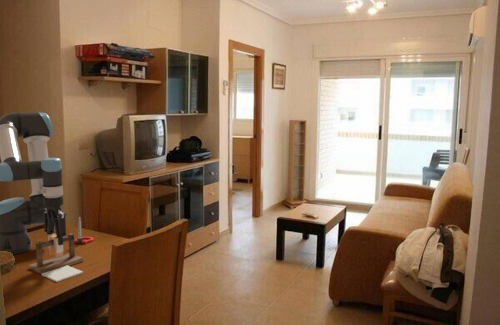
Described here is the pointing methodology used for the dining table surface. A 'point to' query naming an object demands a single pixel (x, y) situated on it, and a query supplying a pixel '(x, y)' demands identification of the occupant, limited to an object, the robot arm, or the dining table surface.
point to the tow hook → (80, 239)
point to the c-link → (54, 247)
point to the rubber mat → (62, 273)
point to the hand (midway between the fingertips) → (56, 250)
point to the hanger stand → (56, 261)
